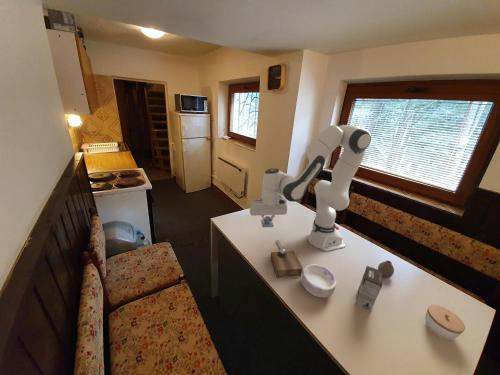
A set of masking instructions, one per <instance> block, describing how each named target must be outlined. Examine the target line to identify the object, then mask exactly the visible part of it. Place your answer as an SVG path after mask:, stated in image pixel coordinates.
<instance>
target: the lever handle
mask: <svg viewBox="0 0 500 375" xmlns="http://www.w3.org/2000/svg"><path fill="white" fill-rule="evenodd" d="M275 245H276V248H277V249H278V252H279V251H280V252H279V254H280V255H281V256H284V255H285V251H287V250H286V248H285V247H283V245H282V243H281V242H280V240H279V239H276V240H275Z"/></svg>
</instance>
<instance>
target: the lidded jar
mask: <svg viewBox="0 0 500 375" xmlns="http://www.w3.org/2000/svg"><path fill="white" fill-rule="evenodd" d="M424 320H425V322H426V324H427V327H428V329H429V330H430V331H431V332H432V333H433V334H434V335H435V336H438V337H439V338H442V339H447V340H454V339H457V338H459V337H460V336H461V334H462V333H464V332H465V330H466V326H465V323H464V321H463V320H462V319H461V318H460V317H459V316H458V315H457V314H456V312H455V313H454V312H453V311H452V310H450V309H449V308H447V307H445V306H443V305H439V304H429V306H428V307H427V310H426V312H425V319H424Z"/></svg>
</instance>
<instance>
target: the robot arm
mask: <svg viewBox="0 0 500 375" xmlns="http://www.w3.org/2000/svg"><path fill="white" fill-rule="evenodd" d="M371 141H372V134H371V132H370V131H368V130H367V129H365V128H361V127H358V126H356V125H355V126H354V125H349V124H338V125H334V124H332V125H328V126H326V127H325V128H324V129H323V130H322V131H320V132H319V133H318V134H317V135H316V137H315V138H314V139H313V140H312V141H311V142H309V145H308V146H307V148H306V157H307V159H308V164H307V166H306V167H305V169H304V170H303V171H302V172H301V174H300V175H299V176H298V178H297V179H296V178H295V177H294V176H292V175H291V174H290V173H285V172H283V171H282V170H280V169H279V168H276V167H272V168H268V169H266V170H265V171H264V174H263V177H262V184H261V185H262V190H261V194H260V195H261V197H260V198H253V199H251V200H250V201H249V215H251V217H252V216H261V218H262V219H261V220H262V221H263V222H265V221H266V218H265V217H266V216H269V217H270V220H269V221H272V222H273V219H274V218H275V217H276V216H280V215H282V216H283V215H286V214H287V212H288V205H287V203H288V202H298V201H300V200H301V199H302V198H303V197H304V195H305V194H306V191H307V189H308V187H309V186H310V185H311V184H312V183H313V182H314V180H315V179H316V178H317V176H318V174H320V172H321V171H322V169H323V168H324V166H325V164H326V160H327V159H328V157H330V155H331V154H333V152H334V151H335V149H336V148H337V147H342V148H343V152H342V153H341V154H340V156H339V157H338V159H337V161H336V163H335V165H334V167H333V169H332V170H331V182H330V181H328V180H325V179H321V180H318V181H317V182H316V183H315V185H314V192H315V198H316V200H315V201H316V212H315V217H314V220H313V223H312V229H311V232H310V234H309V236H308V238H307V240H308V243H309V244H311V245H312V246H313V247H315V248H317V249H320V250H322V251H324V252H331V251H335V250H339V249H344V248H346V244H345V242H344V240H343V236H342V234H341V233H340V231H338V230H340V227H339V226H338V225H336V223H335V220H336V218H337V212H336V211H343V210H345V209H347V208H348V206H349V204H350V197H349V191H350V190H349V189H350V185H351V183H352V180H353V178H354V176H355V175H356V173H357V171H358V170H359V168H360V166H361V164H362V162H363V159H364V157H365V154H366V149H367V148H368V147H369V145H370V144H371ZM280 193H281V194H280ZM287 201H288V202H287Z"/></svg>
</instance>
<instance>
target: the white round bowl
mask: <svg viewBox="0 0 500 375" xmlns="http://www.w3.org/2000/svg"><path fill="white" fill-rule="evenodd" d="M300 279H301V283H302V286H303V287H304V288H305V289H306V291H307V292H309V294H311V295H313V296H315V297H320V298H329V297H331V296H332V295H333V294H334V293H335V290H336V287H337V282H338V281H337V277H336V276H335V274H334V273H333V271H332V270H330V269H329V268H327V267H326V266H325V265H321V264H316V263H311V264H308V265H305V267H304V268H302V273H301V278H300Z"/></svg>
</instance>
